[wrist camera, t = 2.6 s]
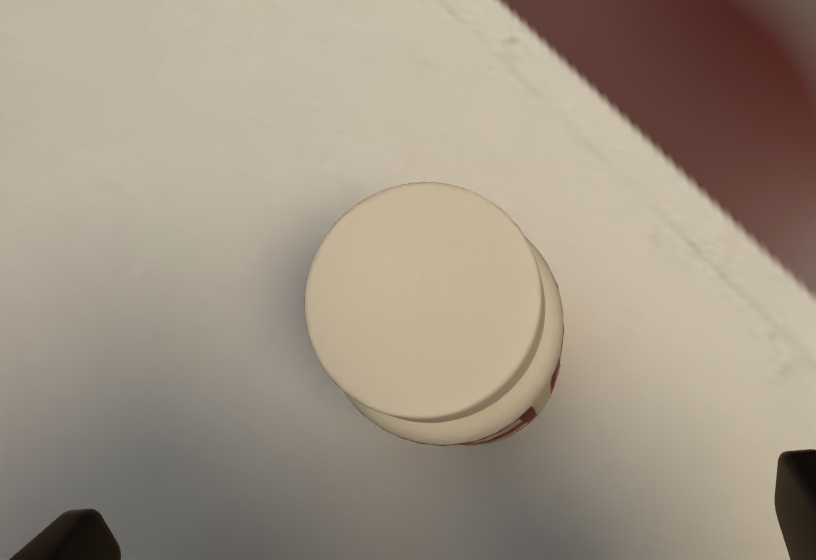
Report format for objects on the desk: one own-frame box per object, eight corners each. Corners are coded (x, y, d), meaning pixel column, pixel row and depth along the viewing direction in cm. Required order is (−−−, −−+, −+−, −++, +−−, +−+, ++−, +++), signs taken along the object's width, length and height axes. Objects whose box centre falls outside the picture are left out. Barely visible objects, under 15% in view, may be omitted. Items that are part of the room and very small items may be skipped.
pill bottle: (443, 241, 21) (378, 111, 13) (593, 328, 20) (624, 243, 12) (351, 384, 21) (227, 341, 13) (498, 482, 19) (464, 504, 11)
